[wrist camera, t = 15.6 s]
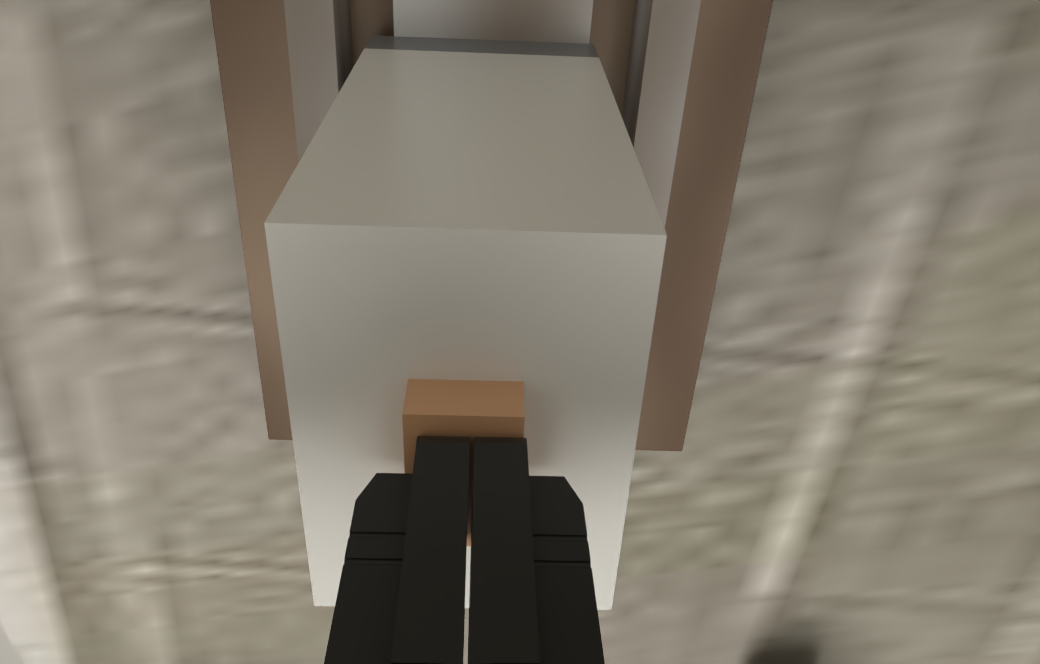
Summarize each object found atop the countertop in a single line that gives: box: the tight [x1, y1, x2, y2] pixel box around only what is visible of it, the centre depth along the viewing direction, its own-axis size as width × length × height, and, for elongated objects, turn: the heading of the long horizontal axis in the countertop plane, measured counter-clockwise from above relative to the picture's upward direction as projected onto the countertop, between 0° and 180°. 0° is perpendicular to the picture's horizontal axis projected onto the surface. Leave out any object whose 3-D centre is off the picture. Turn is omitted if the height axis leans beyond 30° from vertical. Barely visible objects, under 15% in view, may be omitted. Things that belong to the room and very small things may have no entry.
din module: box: [264, 35, 667, 610], centre depth 16 cm, size 5×7×11 cm
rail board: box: [210, 0, 773, 451], centre depth 21 cm, size 13×18×4 cm
